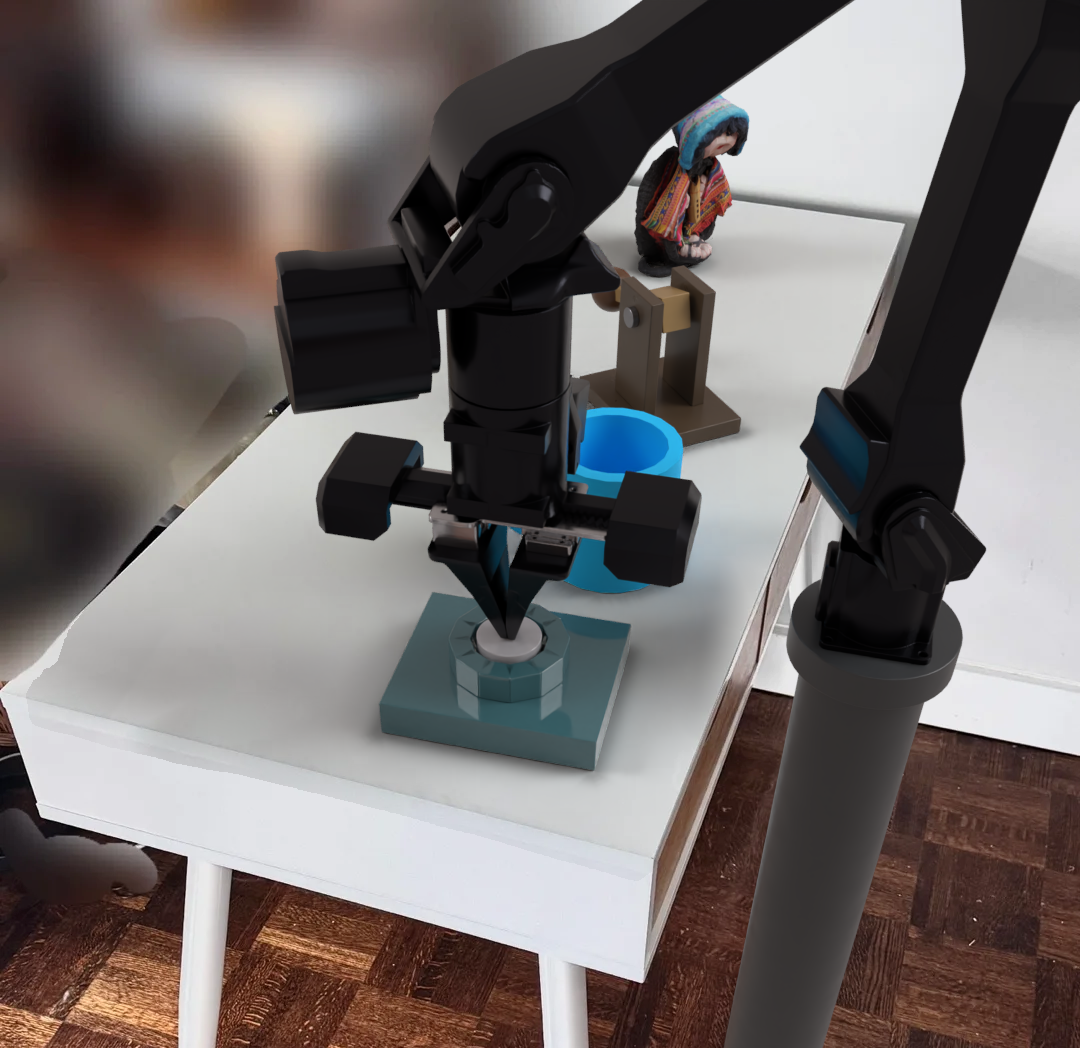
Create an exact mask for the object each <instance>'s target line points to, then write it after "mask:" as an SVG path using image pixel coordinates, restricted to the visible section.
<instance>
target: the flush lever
mask: <svg viewBox="0 0 1080 1048" xmlns="http://www.w3.org/2000/svg"><path fill="white" fill-rule="evenodd" d="M613 268H614V269H615V270H616V272H617V273H618V275H619V276H620V278H621V279H622V278H627V277H632V276H631V275H630V274H629V273H628V271H626V270H625V269H623V268H621V267H618V266H613ZM649 290H650V291H651V292H652V293H653V294H655V295H656V296H657V297H658V298H659V299H660V300H661V301H663V302H664V314H663V326H662V335H663V334H666V333H668V332H673V331H677V330H682V329H686V328H690V327H691V326H690V299H689V292H686V291H683V290H680V289H677V288H674V287H671V286H670V285H666V286H661V287H657V288H652V289H649ZM620 294H621V284H620V286H619V288H618V289H616V290H615V291H610V292H601V293H592V294H591V298H592V300H593V302H594V304H595V306H597V307H598V308H599V309H601V310H602V311H605V312H607V313H617V312H619V311H620Z"/></svg>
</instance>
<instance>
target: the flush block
mask: <svg viewBox="0 0 1080 1048" xmlns="http://www.w3.org/2000/svg"><path fill="white" fill-rule="evenodd" d="M525 617H527V618H529V619H531V620H532V621H534V622H535V623H536V624H537V625H538V626H539V628H540V629H541V632H542V652H541V653H539V654H538V655H536V656H535V657H533V658H532V659H530V660H529V661H524V662H518V663H513V664H506V663H500V662H494V661H490V660H488V659H486V658H485V657H483V656H482V655H480V654H479V653H477V641H476V635H477V630H478V628H479V627H480V625H481V624H482V623H483V622H485V621H486V620H488V618H487V617H486V615H485V614H484V612H483V611H482V609H481V608H480V606H479V605H478V603H477V602H476V600H475V599H474V598H473V597H466V596H461V595H454V594H448V593H443V592H435V591H432V592H431V594H430V596H429V598H428V600H427V601H426V605H425V606H424V608H423V611H422V613H421V615H420V617H419V619H418V621H417V623H416V625H415V627H414V630H413V632H412V633H411V636H410V637H409V639H408V641H407V644H406V646H405V648H404V650H403V653H402V654H401V657H400V659H399V661H398V663H397V664H396V667H395V669H394V671H393V672H392V675H391V678H390V680H389V682H388V684H387V686H386V687H385V690H384V692H383V694H382V697H381V699H380V701H379V703H378V708H379V718H380V729H381V730H380V731H381V733H382V734H383V733H384V734H390V735H395V736H400V737H404V738H405V737H406V738H412V739H417V740H421V741H422V740H423V741H427V742H428V741H429V742H433V743H438V744H439V743H440V744H444V745H449V746H455V747H460V748H466V749H471V750H477V751H483V752H489V753H494V754H500V755H504V756H510V757H516V758H521V759H527V760H532V761H537V762H538V761H539V762H543V763H548V764H549V763H550V764H554V765H555V764H556V765H560V766H565V767H571V768H576V769H582V770H589V771H592V772H593V771H596V767H597V764H598V762H599V761H598V760H599V756H600V755H601V750H602V747H603V743H604V740H605V737H606V733H607V729H608V727H609V722H610V719H611V716H612V713H613V709H614V705H615V702H616V698H617V695H618V692H619V689H620V685H621V681H622V678H623V675H624V671H625V668H626V664H627V662H628V658H629V654H630V649H631V648H630V647H631V634H632V624H631V623H627V622H620V621H615V620H607V619H602V618H596V617H590V616H584V615H578V614H572V613H565V612H559V611H553V610H548V609H547V608H545V607H544V606H542V605H540V604H538V603H532V602H531V603H530V605H529V607H528V610H527V612H526V614H525Z"/></svg>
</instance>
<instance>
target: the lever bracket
mask: <svg viewBox="0 0 1080 1048" xmlns="http://www.w3.org/2000/svg"><path fill="white" fill-rule="evenodd" d="M669 286H671V287H674V288H677V289H680V290H683V291H686V292H689V299H690V326H691V327H690V328H686V329H682V330H677V331H673V332H668V333H665V343H664V353H663V356H661V349H662V337H663V336H662V335H663V333H662V326H663V314H664V302H663V301H661V300H660V299H659V298H658V297H657V296H656V295H655V294H653V293H652V292H651V291H650V290H651V289H649V288H648V287H647V286H645V285H644V284H643V283H642V282H641V281H640V280H639V279H637V277H636V276H634V275H633V276H631V277H627V278H622V279H621V294H620V311H618V313H619V314H618V328H617V329H618V330H617V345H616V349H617V350H616V361H615V362H616V364H615V367H613V368H610V369H605V370H601V371H597V372H592V373H588V374H584V375H580V376H579V377H578V378H580V379H584V380H587V381H589V382H590V387H589V397H588V402H589V403H590V404H591V405H592V406H593V407H594V409H597V408H627V409H632V410H637V411H643V412H646V413H648V414H651V415H653V416H656V417H658V418H661V419H662V420H664V421H665V422H667V423H668V424H670V425H671V426H672V427H674V428H675V430H676V431H677V433H678V434H679V435H680V437H681V438H682V444H683V448H684V447H688V446H692V445H696V444H700V443H703V442H706V441H707V442H708V441H711V440H714V439H718V438H719V439H720V438H723V437H726V436H731V435H734V434H739V433H740V430H741V424H742V417H741V416H740V415H739V414H738V413H736V412H735V410H734V409H732V408H731V407H730V405H728V404H727V403H726V402H724V400H723V399H721V398H720V397H719V396H718V395H717V394H716V393H715V392H714V391H713V390H712V389H711V388H709V387H708V386H707V378H708V377H707V376H708V368H709V358H710V357H709V356H710V348H711V342H712V341H711V340H712V331H713V322H714V314H715V304H716V294H717V293H716V292H717V291H716V290H715V289H713V288H712V287H711V286H709V285H708V283H706V282H705V281H704V280H702V279H701V278H700V277H699V276H698V275H696V274H695V273H694V272H693V271H691V269H689V268H688V267H685V266H684V265H683V266H678V267H674V268H672V272H671V275H670V285H669Z"/></svg>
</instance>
